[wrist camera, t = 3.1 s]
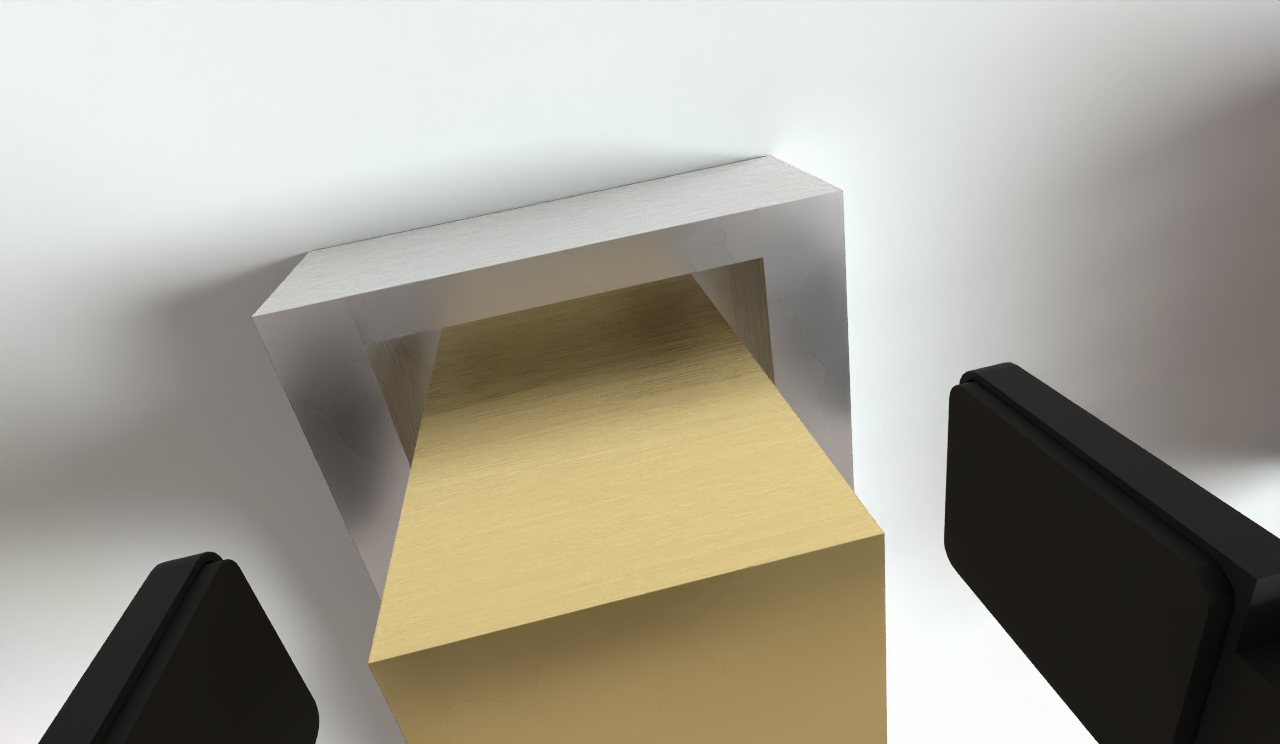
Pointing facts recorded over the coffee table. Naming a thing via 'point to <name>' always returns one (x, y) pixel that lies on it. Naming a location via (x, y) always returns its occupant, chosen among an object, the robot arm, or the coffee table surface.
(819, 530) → the gold brushed block
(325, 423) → the rail
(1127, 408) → the coffee table surface
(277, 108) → the coffee table surface
